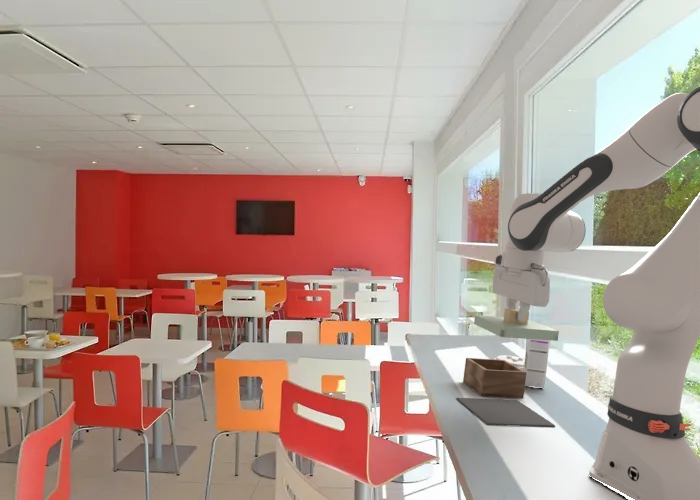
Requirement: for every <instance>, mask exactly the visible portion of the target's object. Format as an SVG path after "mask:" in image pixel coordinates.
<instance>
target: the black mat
mask: <svg viewBox="0 0 700 500" xmlns="http://www.w3.org/2000/svg"><path fill="white" fill-rule="evenodd" d="M456 400H457V401H458V402H459V403H461V404H462V405H463V406H464V407H465V408H467V409H468V410H469V411H470V412H471V413H472V414H474V415H475V416H476V417H478V419H479V420H480V421H482V422H483V423H485V425H487V426H506V425H520V426H519V427H546V428H548V427H549V428H555V427H556V425H555V424H554V423H552V422H551V421H550V420H548V419H546V418H545V417H543V416H542V415H540V414H539V413H538V412H536V411H535V410H533V409H531V408H530V407H528V406H527V405H525V404H524V403H523V402H521V401H520V400H518V399H504V398H503V399H502V398H501V399H500V398H479V397H475V398H474V397H456Z"/></svg>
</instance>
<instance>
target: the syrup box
mask: <svg viewBox="0 0 700 500" xmlns="http://www.w3.org/2000/svg"><path fill="white" fill-rule="evenodd" d="M550 342H551V340H537V339H526V347H525V355H524V356H525V357H524V359H525V363H524V371H525V372H527V374H526V381H525V387H526V386H535V387H542V388H544V389H545V385H546V378H547V376H546V375H547V369H548V361H549V360H548V359H549V350H550Z"/></svg>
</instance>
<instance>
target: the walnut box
mask: <svg viewBox="0 0 700 500" xmlns="http://www.w3.org/2000/svg"><path fill="white" fill-rule="evenodd" d="M463 372H464V373H463V380H462V383H464V384H465V385H466V386H468V387H469V388H470V389H472V390H473V391H474V392H475V393H477V394H478V395H480V396H481V397H488V398H489V397H490V398H491V397H492V398H508V399H509V398H510V399H511V398H512V399H523V398H524V396H525V387H526V386H525V381H526V374H527V372H525V371H523V370H522V369H520V368H518V367H516V366H514V365H513V364H511V363H509V362H507V361H505V360H494V358H493V359H491V358H476V357H475V358H473V357H466V358H465V363H464V371H463Z"/></svg>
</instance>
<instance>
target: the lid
mask: <svg viewBox="0 0 700 500" xmlns="http://www.w3.org/2000/svg"><path fill="white" fill-rule="evenodd" d="M493 359H494V360H505V361H507V362H509V363H511V364H513V365H514V366H516V367H518V368H520V369H522V370H523V371H524V363H525V357H524V358H523V357H519V356H515V355H508V354H507V355H505V354H502V355H498V356H496V357H494V358H493Z"/></svg>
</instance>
